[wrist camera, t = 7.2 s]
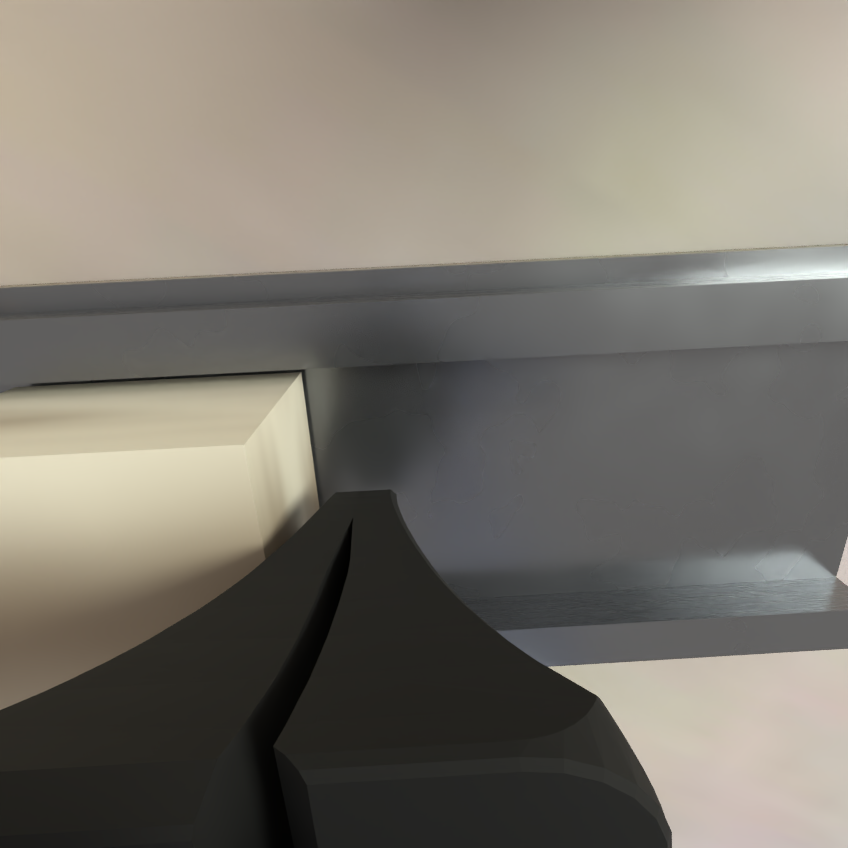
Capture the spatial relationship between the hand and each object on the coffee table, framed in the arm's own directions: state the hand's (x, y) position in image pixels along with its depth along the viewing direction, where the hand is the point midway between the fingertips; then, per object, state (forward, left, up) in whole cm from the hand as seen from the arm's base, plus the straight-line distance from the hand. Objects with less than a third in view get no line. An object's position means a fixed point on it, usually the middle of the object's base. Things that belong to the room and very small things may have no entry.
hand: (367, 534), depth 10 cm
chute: (0, -1, -3) cm, 3 cm away
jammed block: (0, +4, -2) cm, 5 cm away
